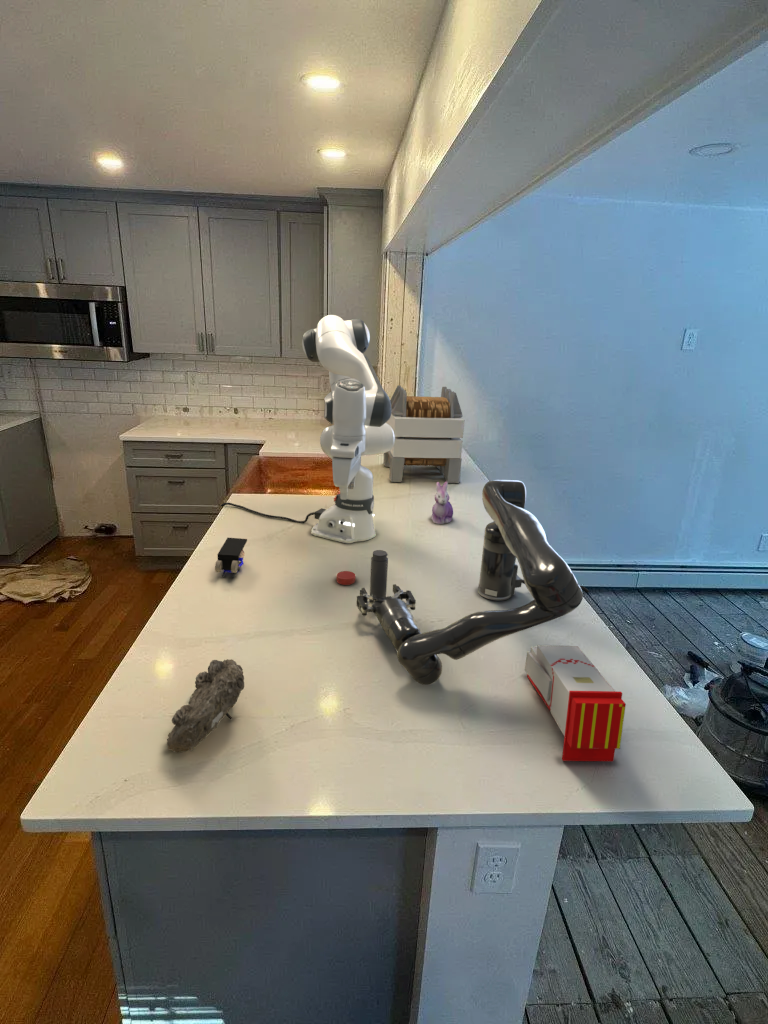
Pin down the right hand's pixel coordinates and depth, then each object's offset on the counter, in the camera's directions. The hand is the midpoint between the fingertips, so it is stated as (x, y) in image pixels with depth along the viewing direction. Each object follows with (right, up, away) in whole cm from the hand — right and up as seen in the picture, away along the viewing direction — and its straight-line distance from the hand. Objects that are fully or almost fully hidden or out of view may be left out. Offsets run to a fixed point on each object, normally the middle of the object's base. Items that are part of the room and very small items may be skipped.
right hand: (378, 589), depth 148 cm
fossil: (-31, -19, -40) cm, 54 cm away
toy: (+37, -20, -34) cm, 54 cm away
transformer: (+19, +39, +127) cm, 134 cm away
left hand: (-8, +25, +7) cm, 28 cm away
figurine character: (-43, +3, +19) cm, 48 cm away
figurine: (+23, +17, +66) cm, 72 cm away
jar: (0, -5, +3) cm, 6 cm away
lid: (-9, +2, +15) cm, 18 cm away
